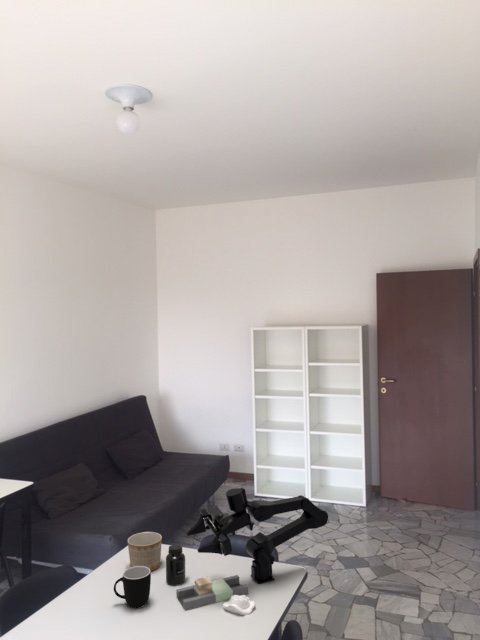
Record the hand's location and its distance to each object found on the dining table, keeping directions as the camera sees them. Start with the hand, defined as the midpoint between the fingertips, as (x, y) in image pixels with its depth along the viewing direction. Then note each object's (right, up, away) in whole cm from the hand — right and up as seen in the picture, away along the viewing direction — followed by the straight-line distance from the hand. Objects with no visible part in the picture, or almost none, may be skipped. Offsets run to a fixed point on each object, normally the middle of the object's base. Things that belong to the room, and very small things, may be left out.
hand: (192, 542), depth 176 cm
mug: (-19, -19, -4) cm, 27 cm away
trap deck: (+7, -18, 0) cm, 19 cm away
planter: (-20, -18, +22) cm, 35 cm away
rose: (+16, -18, -8) cm, 25 cm away
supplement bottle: (-7, -18, +11) cm, 22 cm away
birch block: (+4, -15, -1) cm, 16 cm away
